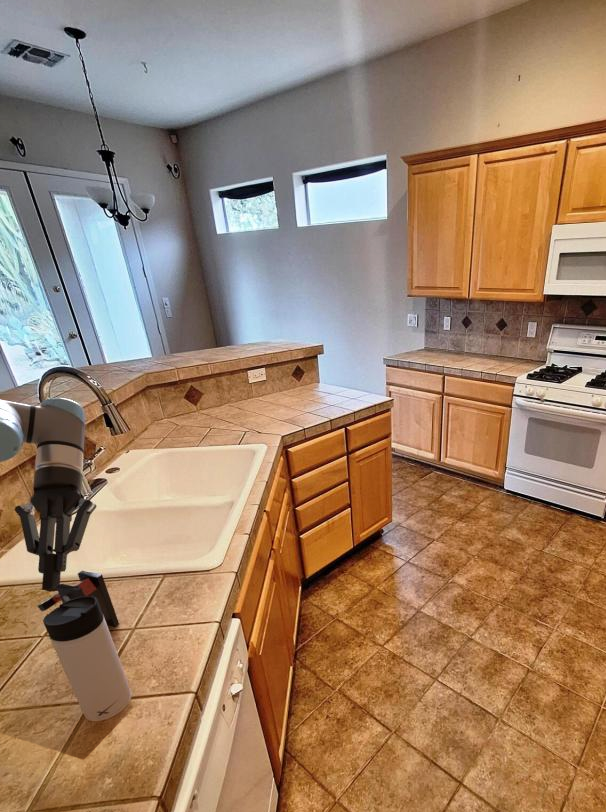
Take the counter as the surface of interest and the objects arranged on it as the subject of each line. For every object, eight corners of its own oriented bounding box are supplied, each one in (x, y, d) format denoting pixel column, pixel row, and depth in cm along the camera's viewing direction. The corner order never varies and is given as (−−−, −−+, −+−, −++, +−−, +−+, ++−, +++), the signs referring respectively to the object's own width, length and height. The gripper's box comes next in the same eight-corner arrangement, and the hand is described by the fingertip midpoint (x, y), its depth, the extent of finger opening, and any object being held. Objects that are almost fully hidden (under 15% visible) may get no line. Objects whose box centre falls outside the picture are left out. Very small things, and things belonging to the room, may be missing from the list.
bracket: (52, 647, 77) (26, 590, 72) (96, 615, 85) (75, 561, 80) (106, 661, 75) (83, 602, 69) (146, 626, 82) (128, 571, 77)
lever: (43, 614, 77) (34, 603, 76) (69, 597, 81) (61, 587, 81) (78, 601, 73) (69, 590, 72) (103, 584, 77) (95, 573, 76)
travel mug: (115, 730, 63) (72, 625, 54) (76, 724, 64) (27, 619, 55) (145, 695, 68) (110, 594, 60) (108, 689, 69) (68, 589, 61)
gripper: (104, 476, 91) (100, 587, 83) (32, 482, 87) (21, 598, 80) (87, 461, 84) (81, 581, 76) (8, 467, 80) (-6, 592, 73)
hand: (50, 589), depth 78 cm, fingers closed
